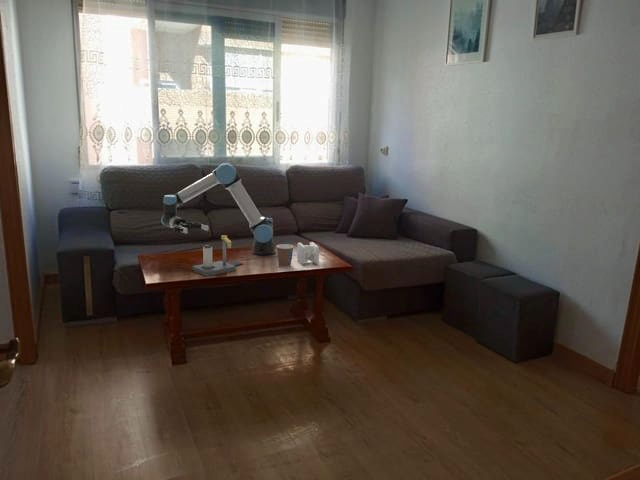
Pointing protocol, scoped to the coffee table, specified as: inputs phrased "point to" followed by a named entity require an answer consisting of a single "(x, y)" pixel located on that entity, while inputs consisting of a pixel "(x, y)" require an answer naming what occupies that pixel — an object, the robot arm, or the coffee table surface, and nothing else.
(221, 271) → the socket plate
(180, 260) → the coffee table surface
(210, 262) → the plug
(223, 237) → the clip
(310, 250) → the cable organizer
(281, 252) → the coffee cup
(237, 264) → the pad
